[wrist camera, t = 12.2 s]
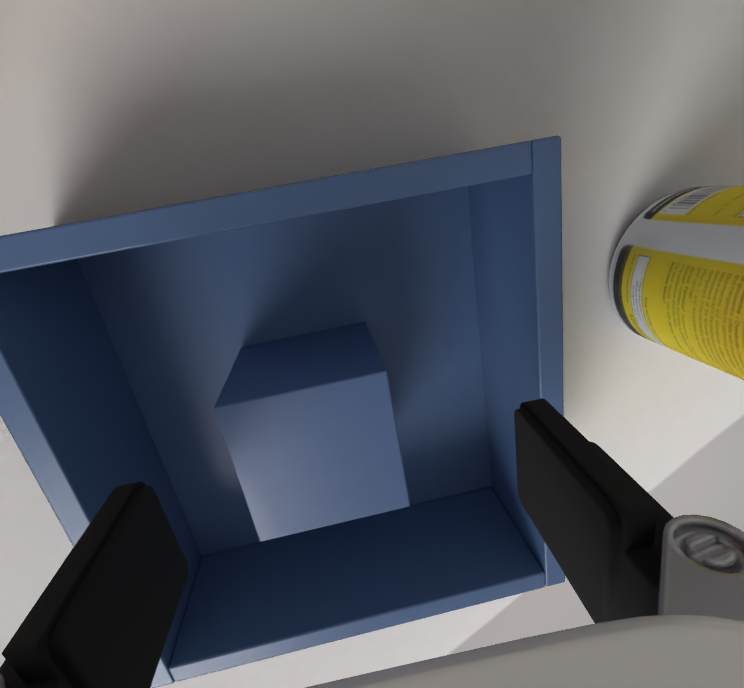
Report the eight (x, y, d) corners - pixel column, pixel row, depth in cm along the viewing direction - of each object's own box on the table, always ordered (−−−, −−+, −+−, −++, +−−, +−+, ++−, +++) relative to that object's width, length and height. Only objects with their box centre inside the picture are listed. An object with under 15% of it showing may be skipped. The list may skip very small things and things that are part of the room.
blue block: (365, 321, 17) (387, 370, 12) (385, 428, 19) (410, 507, 14) (240, 347, 16) (212, 408, 12) (272, 453, 18) (259, 543, 14)
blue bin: (479, 153, 16) (562, 134, 11) (503, 487, 21) (566, 582, 16) (51, 231, 15) (-92, 252, 10) (192, 561, 20) (152, 689, 15)
